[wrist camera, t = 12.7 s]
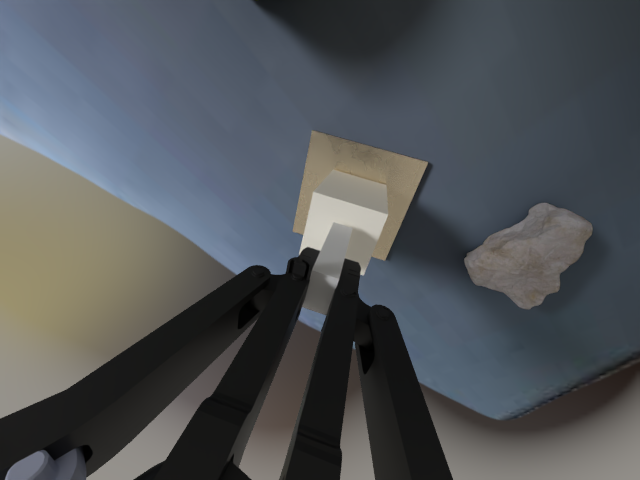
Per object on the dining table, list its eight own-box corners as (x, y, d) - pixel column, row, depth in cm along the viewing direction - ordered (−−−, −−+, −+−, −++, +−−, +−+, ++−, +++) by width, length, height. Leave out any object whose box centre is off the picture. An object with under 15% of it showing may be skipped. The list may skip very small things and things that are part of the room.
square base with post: (313, 130, 25) (283, 137, 17) (427, 161, 24) (448, 183, 16) (294, 229, 31) (264, 267, 23) (384, 258, 30) (385, 308, 22)
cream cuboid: (333, 169, 26) (313, 191, 18) (386, 185, 25) (388, 214, 18) (320, 217, 29) (299, 254, 21) (368, 232, 28) (363, 275, 21)
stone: (449, 264, 29) (464, 295, 24) (501, 185, 24) (533, 203, 19) (518, 288, 28) (548, 325, 23) (584, 212, 23) (642, 237, 18)
